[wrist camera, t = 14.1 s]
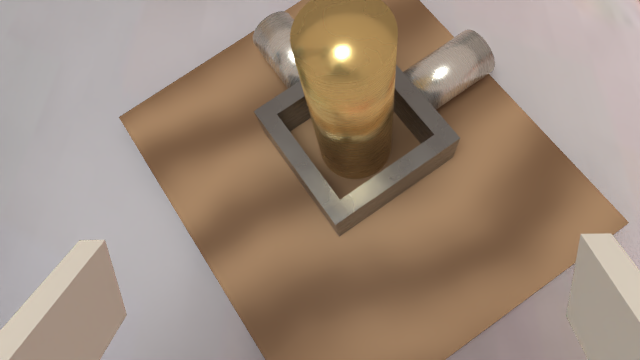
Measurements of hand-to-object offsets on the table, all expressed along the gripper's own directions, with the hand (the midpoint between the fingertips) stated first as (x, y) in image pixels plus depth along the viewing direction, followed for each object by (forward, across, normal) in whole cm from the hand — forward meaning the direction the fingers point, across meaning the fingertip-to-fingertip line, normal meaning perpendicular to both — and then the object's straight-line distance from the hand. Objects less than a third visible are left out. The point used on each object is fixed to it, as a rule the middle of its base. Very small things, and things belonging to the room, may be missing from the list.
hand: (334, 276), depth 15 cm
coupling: (+18, 0, -4) cm, 19 cm away
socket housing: (+21, +1, -1) cm, 21 cm away
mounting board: (+18, 0, -5) cm, 19 cm away
